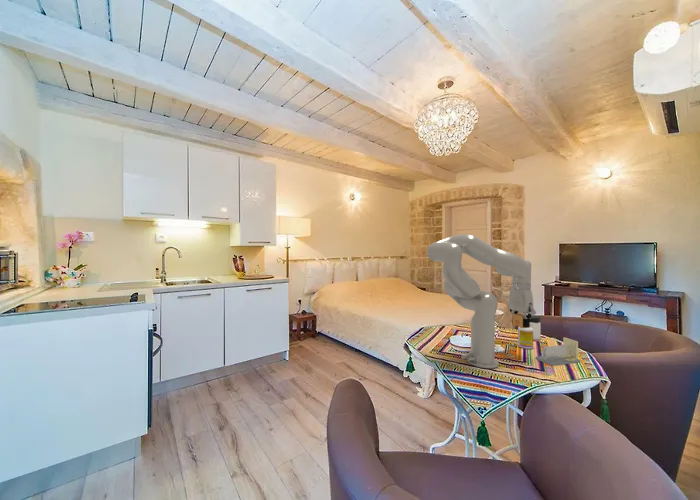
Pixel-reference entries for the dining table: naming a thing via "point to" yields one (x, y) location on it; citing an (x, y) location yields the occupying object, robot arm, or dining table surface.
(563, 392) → the dining table surface
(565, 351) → the flange rail
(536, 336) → the jar
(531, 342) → the supplement bottle
